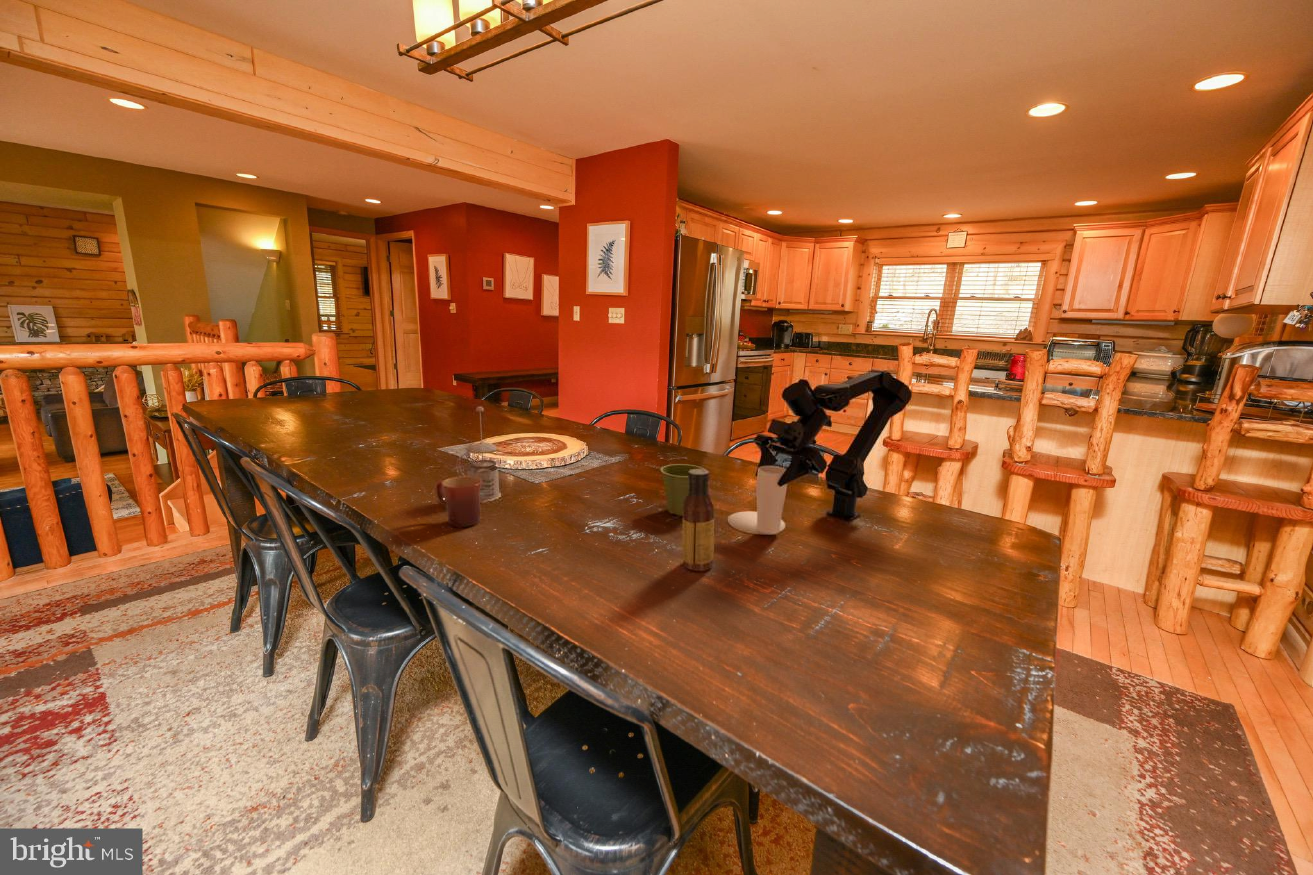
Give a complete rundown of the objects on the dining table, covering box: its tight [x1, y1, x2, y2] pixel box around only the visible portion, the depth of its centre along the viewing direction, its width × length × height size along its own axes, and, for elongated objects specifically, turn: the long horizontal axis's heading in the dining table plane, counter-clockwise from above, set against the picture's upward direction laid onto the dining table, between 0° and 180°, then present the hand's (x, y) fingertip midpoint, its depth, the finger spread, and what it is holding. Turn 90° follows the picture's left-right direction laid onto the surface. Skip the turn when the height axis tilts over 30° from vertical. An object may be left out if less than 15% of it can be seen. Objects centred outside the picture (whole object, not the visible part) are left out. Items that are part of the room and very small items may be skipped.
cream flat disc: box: [727, 510, 786, 536], centre depth 124 cm, size 14×14×1 cm
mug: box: [435, 475, 483, 529], centre depth 117 cm, size 12×9×10 cm
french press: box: [455, 406, 502, 502], centre depth 132 cm, size 10×12×25 cm
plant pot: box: [660, 463, 706, 517], centre depth 128 cm, size 12×12×11 cm
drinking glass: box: [756, 465, 788, 536], centre depth 115 cm, size 7×7×15 cm
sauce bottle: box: [681, 468, 715, 572], centre depth 98 cm, size 7×6×20 cm
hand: (767, 480), depth 113 cm, fingers closed on drinking glass, 7 cm apart
